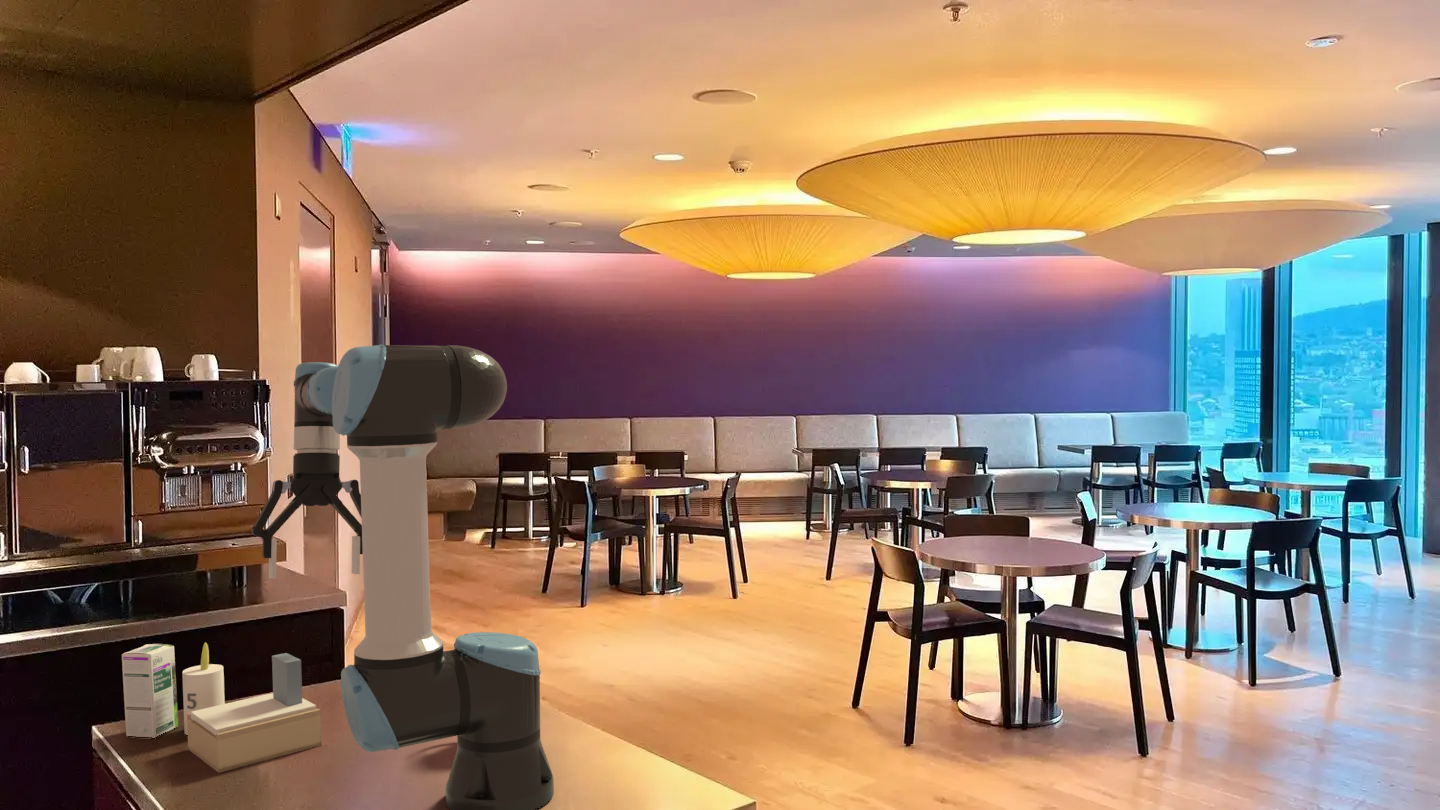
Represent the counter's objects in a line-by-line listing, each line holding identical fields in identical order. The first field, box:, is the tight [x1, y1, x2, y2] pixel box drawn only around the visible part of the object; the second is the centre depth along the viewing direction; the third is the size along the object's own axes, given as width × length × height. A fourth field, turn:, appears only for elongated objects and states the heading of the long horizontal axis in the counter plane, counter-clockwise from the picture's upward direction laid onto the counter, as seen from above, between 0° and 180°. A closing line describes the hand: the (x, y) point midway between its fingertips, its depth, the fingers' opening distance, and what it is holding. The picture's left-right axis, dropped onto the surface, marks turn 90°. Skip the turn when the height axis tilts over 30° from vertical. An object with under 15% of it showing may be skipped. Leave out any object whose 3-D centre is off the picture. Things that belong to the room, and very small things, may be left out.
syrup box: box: [121, 643, 179, 739], centre depth 179 cm, size 6×6×14 cm
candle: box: [181, 642, 226, 736], centre depth 180 cm, size 6×6×15 cm
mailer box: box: [187, 708, 322, 774], centre depth 172 cm, size 16×14×6 cm
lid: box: [190, 652, 317, 735], centre depth 171 cm, size 16×12×8 cm
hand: (314, 576), depth 181 cm, fingers open, 13 cm apart
